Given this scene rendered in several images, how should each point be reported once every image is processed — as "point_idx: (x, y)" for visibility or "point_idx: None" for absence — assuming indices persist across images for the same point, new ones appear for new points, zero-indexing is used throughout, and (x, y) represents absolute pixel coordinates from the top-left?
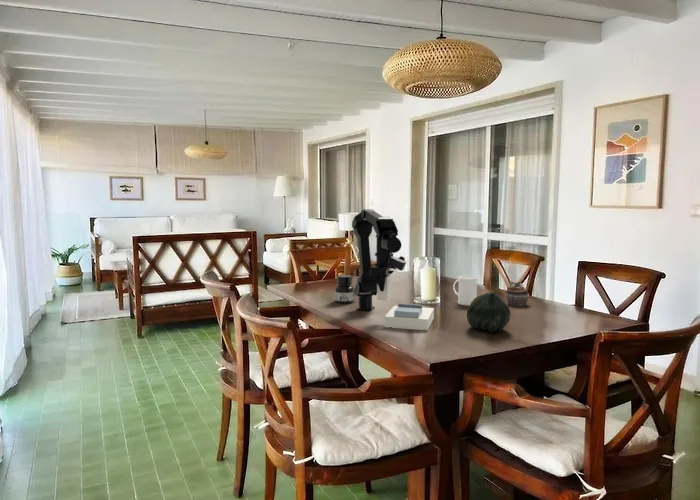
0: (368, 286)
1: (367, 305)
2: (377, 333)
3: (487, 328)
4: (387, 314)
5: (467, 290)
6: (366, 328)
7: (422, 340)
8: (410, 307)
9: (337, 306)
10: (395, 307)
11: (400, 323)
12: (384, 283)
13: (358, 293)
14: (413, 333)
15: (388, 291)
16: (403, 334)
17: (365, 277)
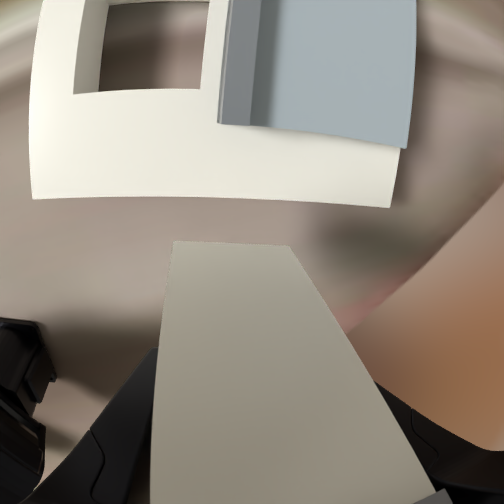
0: (4, 439)
1: (30, 355)
2: (447, 207)
3: None
4: (337, 195)
5: None
6: (381, 268)
7: (495, 39)
8: (261, 13)
9: (48, 429)
10: (82, 175)
11: None
12: (405, 407)
13: (44, 439)
14: (435, 48)
15: (248, 292)
16: (454, 95)
17: (4, 501)
